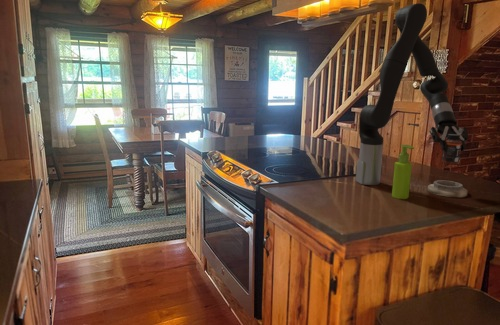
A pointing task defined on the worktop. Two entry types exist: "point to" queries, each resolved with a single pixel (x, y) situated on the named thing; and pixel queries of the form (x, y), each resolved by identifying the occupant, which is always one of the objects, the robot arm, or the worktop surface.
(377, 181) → the robot arm
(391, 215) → the worktop surface
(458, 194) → the collar plate
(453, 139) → the supplement bottle
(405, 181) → the soap dispenser
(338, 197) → the worktop surface
